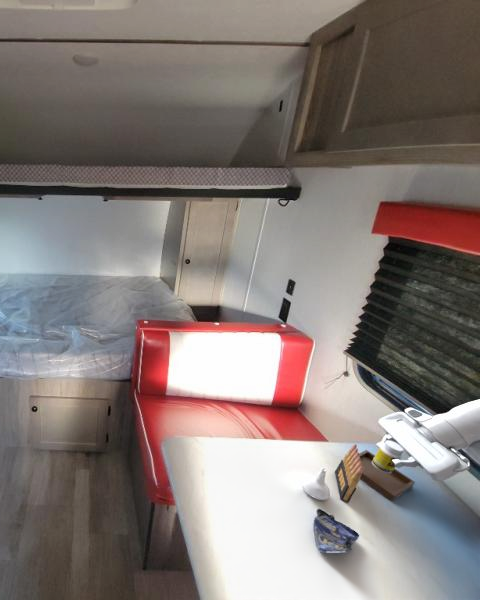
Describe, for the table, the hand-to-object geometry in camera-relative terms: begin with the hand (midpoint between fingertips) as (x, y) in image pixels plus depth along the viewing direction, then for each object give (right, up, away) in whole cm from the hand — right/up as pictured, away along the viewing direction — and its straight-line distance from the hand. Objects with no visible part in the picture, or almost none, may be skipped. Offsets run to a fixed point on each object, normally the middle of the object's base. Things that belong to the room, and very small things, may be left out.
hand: (385, 455), depth 96 cm
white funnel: (-24, -8, -5) cm, 26 cm away
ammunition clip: (-15, -8, -2) cm, 17 cm away
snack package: (-29, -12, -16) cm, 35 cm away
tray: (0, -8, +3) cm, 8 cm away
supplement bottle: (0, -4, +2) cm, 5 cm away
